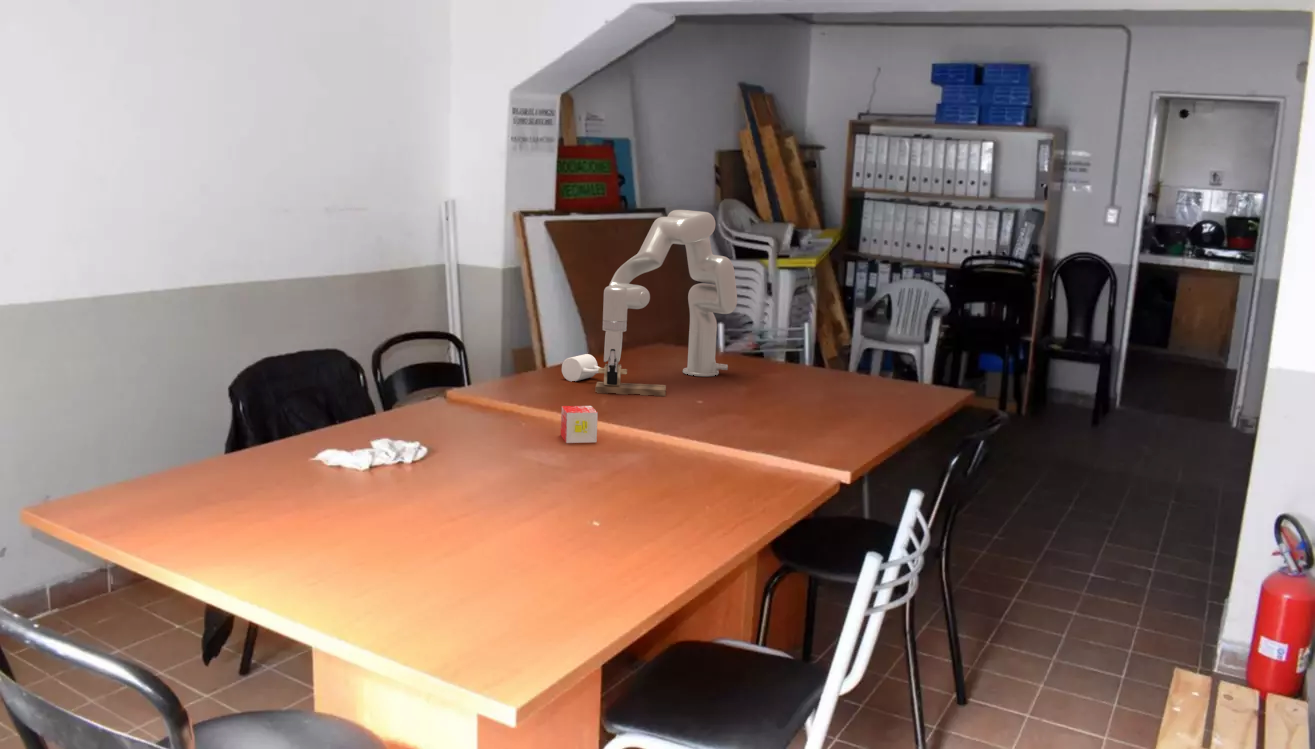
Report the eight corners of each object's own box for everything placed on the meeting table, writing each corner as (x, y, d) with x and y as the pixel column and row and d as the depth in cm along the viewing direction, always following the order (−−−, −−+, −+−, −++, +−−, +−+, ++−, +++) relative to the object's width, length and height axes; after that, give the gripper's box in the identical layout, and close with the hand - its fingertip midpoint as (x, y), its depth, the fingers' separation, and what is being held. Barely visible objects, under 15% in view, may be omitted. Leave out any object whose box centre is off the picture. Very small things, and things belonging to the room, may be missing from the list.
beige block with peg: (626, 383, 345) (627, 362, 343) (626, 386, 340) (626, 364, 339) (598, 382, 345) (599, 361, 343) (597, 384, 340) (598, 363, 339)
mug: (560, 380, 357) (561, 356, 356) (577, 375, 366) (578, 352, 364) (591, 385, 351) (592, 360, 350) (607, 380, 360) (608, 357, 359)
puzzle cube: (566, 443, 276) (567, 413, 275) (560, 435, 284) (561, 406, 282) (596, 442, 278) (598, 412, 277) (590, 435, 286) (591, 405, 284)
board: (665, 391, 347) (665, 384, 346) (665, 396, 339) (665, 389, 338) (597, 387, 347) (597, 381, 346) (595, 392, 339) (595, 386, 338)
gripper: (604, 321, 347) (602, 377, 351) (600, 329, 331) (598, 387, 334) (627, 322, 347) (625, 378, 351) (625, 330, 331) (622, 388, 334)
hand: (612, 382), depth 342 cm, fingers closed on beige block with peg, 4 cm apart
